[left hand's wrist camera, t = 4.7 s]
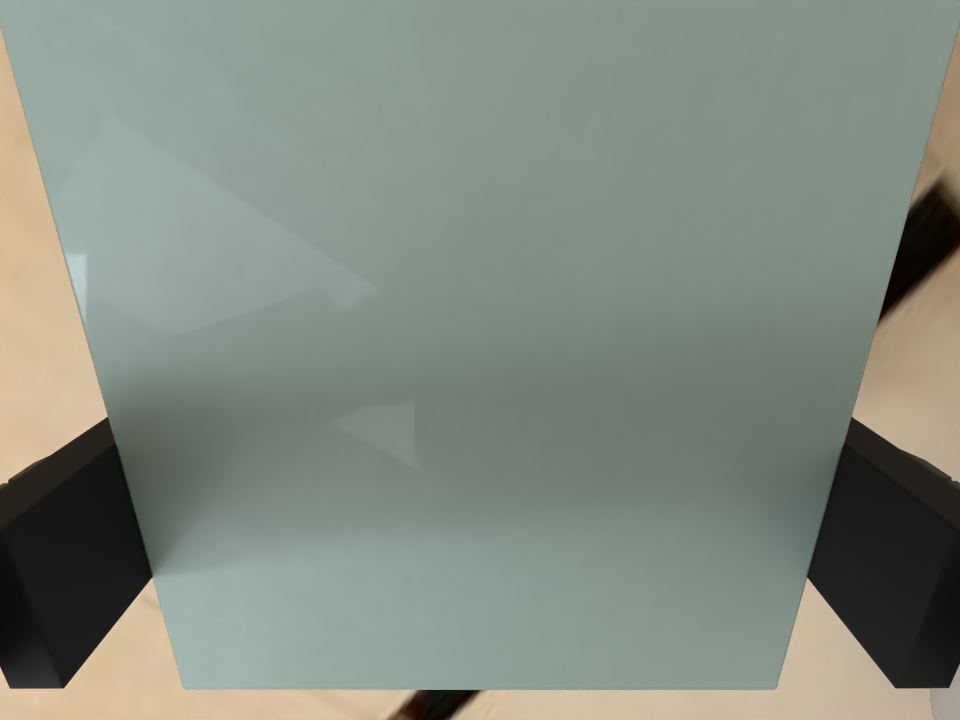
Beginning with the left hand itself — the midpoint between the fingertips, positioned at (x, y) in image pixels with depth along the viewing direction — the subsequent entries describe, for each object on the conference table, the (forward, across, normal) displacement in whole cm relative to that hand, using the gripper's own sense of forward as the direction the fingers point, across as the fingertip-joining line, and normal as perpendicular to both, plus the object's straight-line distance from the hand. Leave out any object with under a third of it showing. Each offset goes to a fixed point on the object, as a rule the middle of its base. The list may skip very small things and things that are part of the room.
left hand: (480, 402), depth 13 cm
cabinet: (+6, 0, -6) cm, 8 cm away
